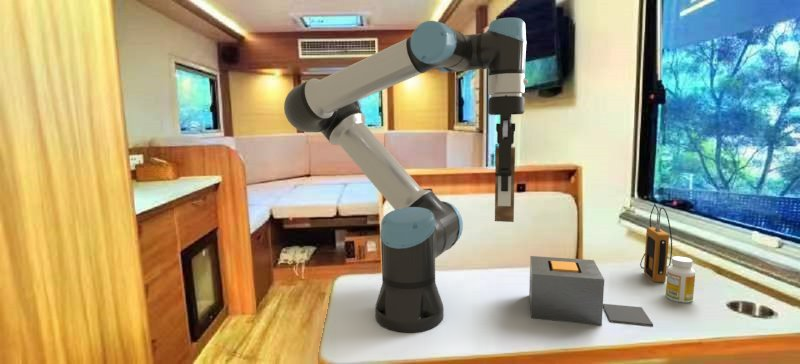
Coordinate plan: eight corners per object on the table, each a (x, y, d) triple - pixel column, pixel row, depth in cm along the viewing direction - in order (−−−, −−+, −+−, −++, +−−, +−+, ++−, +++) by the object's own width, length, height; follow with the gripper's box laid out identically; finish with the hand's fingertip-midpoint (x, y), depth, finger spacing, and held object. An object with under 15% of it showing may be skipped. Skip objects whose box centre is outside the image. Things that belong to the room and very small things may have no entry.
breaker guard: (531, 317, 89) (532, 273, 87) (529, 295, 100) (530, 255, 99) (601, 325, 85) (604, 279, 84) (591, 300, 97) (593, 260, 95)
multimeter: (704, 291, 101) (712, 211, 98) (659, 288, 103) (665, 210, 100) (677, 269, 115) (683, 199, 112) (638, 268, 117) (642, 199, 114)
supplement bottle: (690, 295, 98) (693, 256, 97) (695, 304, 93) (699, 264, 92) (663, 292, 100) (666, 254, 99) (667, 301, 96) (670, 261, 94)
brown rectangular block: (494, 221, 90) (495, 148, 88) (495, 217, 94) (496, 147, 91) (513, 222, 89) (515, 148, 86) (513, 217, 93) (515, 147, 90)
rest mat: (610, 321, 86) (610, 319, 86) (602, 305, 94) (602, 303, 94) (652, 326, 84) (653, 324, 84) (641, 308, 92) (641, 307, 92)
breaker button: (551, 296, 90) (552, 268, 89) (550, 287, 95) (550, 260, 94) (577, 298, 89) (578, 270, 88) (574, 289, 94) (575, 262, 93)
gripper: (525, 92, 78) (522, 212, 82) (523, 97, 94) (521, 197, 98) (485, 94, 80) (484, 211, 84) (490, 98, 96) (489, 196, 100)
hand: (504, 203), depth 91 cm, fingers closed on brown rectangular block, 4 cm apart
